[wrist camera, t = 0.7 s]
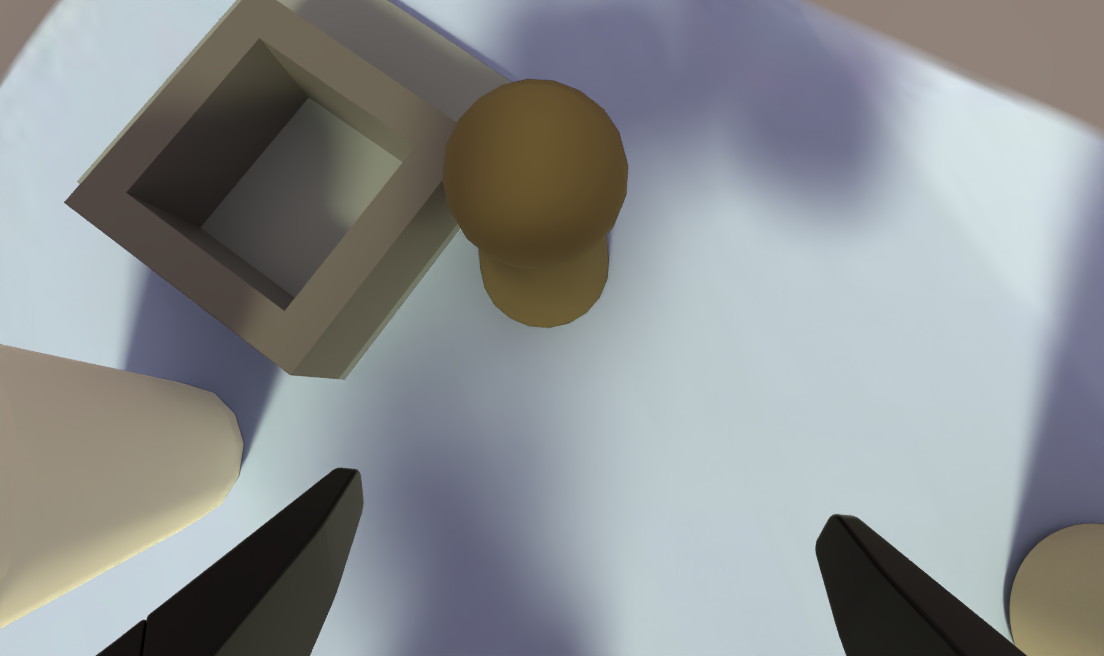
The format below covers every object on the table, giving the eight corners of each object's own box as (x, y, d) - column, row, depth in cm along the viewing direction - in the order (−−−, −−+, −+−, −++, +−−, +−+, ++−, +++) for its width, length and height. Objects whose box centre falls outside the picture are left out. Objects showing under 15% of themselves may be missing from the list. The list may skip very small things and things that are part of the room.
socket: (344, 379, 23) (290, 375, 18) (88, 187, 24) (-21, 138, 19) (548, 112, 24) (546, 47, 20) (298, -53, 26) (242, -149, 21)
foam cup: (27, 458, 22) (-697, 544, 9) (181, 309, 23) (-291, 201, 10) (165, 612, 21) (-431, 939, 8) (320, 450, 22) (-8, 526, 9)
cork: (524, 180, 24) (495, -2, 13) (632, 243, 23) (698, 109, 12) (455, 285, 23) (364, 185, 12) (565, 352, 23) (573, 311, 12)
